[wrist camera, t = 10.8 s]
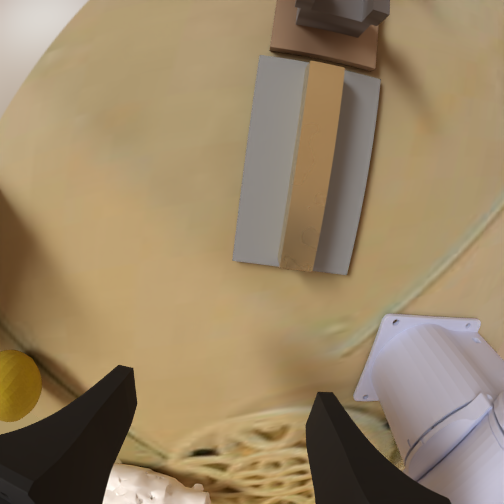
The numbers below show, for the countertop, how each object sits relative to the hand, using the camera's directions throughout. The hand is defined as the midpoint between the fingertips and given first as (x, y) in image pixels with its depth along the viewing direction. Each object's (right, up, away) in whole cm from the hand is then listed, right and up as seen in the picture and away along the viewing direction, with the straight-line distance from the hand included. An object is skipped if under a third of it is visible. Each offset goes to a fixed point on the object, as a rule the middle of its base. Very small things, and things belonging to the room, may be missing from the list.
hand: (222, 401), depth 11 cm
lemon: (-19, -4, +12) cm, 23 cm away
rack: (+6, +23, +2) cm, 24 cm away
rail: (+4, +10, +6) cm, 13 cm away
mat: (+4, +11, +6) cm, 13 cm away
